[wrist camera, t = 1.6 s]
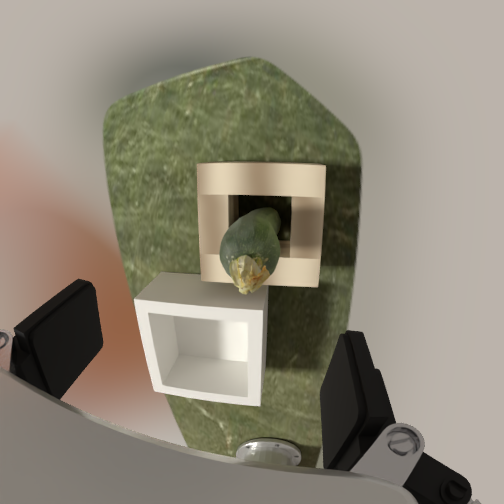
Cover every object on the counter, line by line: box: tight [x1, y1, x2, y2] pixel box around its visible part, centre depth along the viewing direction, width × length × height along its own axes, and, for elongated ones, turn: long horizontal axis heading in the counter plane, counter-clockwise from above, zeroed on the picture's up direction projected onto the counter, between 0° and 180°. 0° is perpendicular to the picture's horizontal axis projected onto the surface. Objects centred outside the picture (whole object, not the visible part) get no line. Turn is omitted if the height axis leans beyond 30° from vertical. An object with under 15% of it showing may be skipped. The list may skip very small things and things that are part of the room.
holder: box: [197, 162, 326, 287], centre depth 31 cm, size 12×12×6 cm
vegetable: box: [219, 208, 281, 294], centre depth 25 cm, size 4×4×20 cm
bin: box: [134, 272, 269, 406], centre depth 36 cm, size 14×14×8 cm
